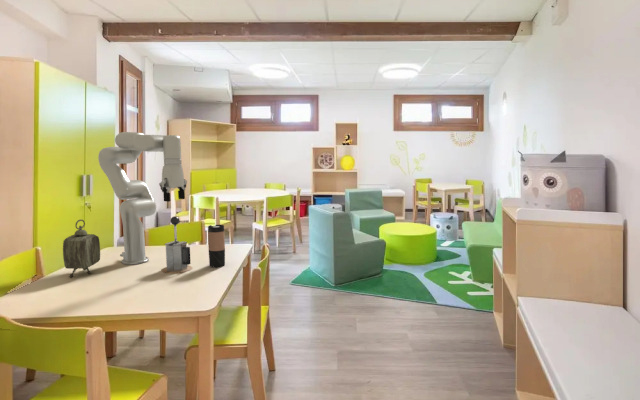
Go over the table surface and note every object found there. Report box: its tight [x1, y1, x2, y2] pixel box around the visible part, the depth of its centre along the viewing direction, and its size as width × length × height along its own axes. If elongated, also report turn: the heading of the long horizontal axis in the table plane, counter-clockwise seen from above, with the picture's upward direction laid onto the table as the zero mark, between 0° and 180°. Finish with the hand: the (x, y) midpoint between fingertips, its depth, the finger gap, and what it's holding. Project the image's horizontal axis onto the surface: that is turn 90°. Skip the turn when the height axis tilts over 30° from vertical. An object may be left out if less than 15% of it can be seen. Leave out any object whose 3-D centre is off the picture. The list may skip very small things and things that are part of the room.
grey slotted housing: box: [164, 240, 192, 272], centre depth 192 cm, size 12×9×13 cm
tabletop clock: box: [62, 219, 101, 278], centre depth 186 cm, size 14×9×25 cm, turn 1°
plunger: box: [170, 215, 181, 244], centre depth 191 cm, size 6×6×15 cm
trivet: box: [160, 265, 193, 275], centre depth 193 cm, size 14×14×1 cm
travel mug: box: [207, 224, 226, 268], centre depth 198 cm, size 8×8×20 cm
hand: (174, 200), depth 189 cm, fingers open, 9 cm apart
